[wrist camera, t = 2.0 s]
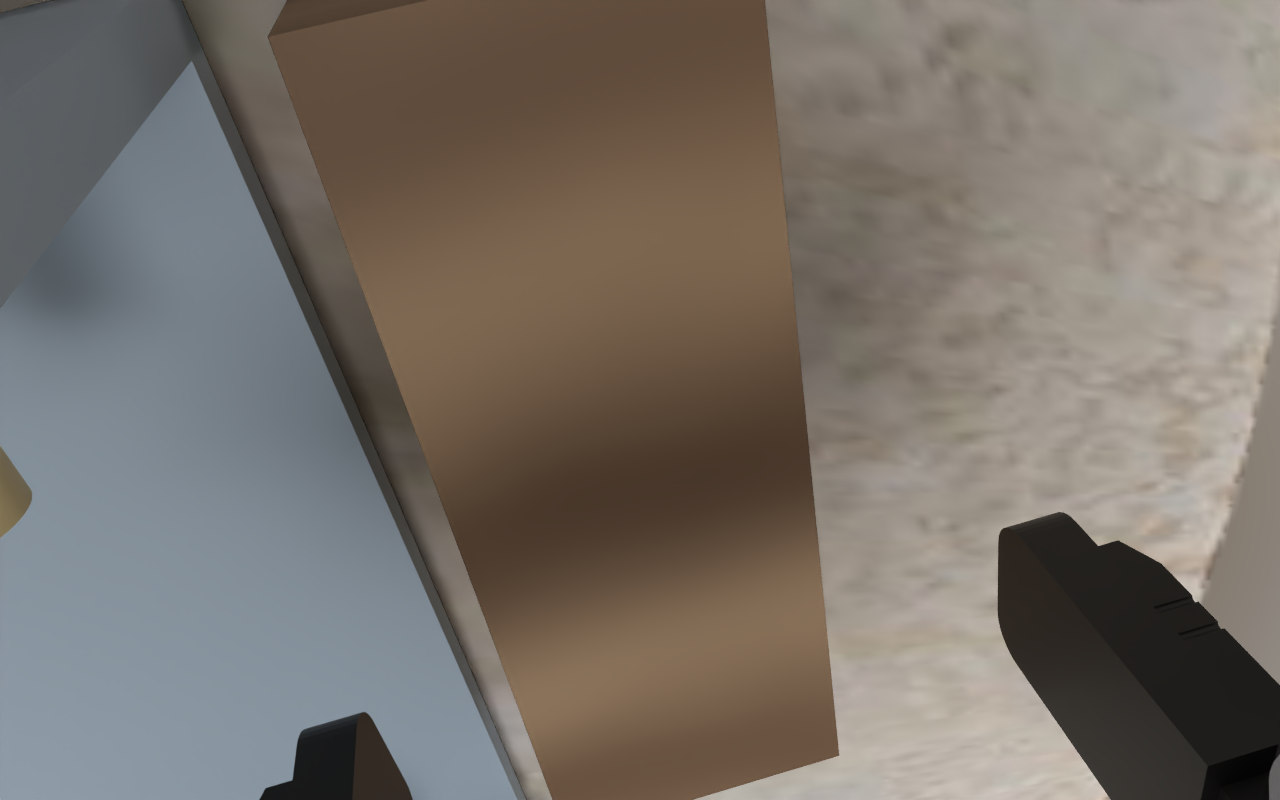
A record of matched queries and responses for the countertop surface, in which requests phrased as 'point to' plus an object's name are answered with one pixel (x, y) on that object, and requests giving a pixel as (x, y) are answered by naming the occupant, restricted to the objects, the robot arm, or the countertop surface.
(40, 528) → the peg stand
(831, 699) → the walnut board
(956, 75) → the countertop surface
